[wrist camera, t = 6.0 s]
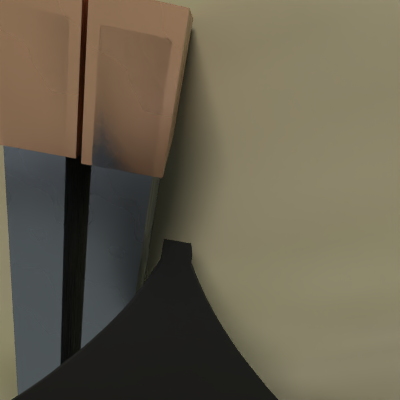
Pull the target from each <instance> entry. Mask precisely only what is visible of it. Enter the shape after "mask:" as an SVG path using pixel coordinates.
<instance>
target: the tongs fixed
mask: <svg viewBox="0 0 400 400" xmlns="http://www.w3.org/2000/svg"><path fill="white" fill-rule="evenodd" d="M87 20H88V0H0V145H4V162H5V179H6V197H7V214H8V231H9V249H10V266H11V283H12V300H13V318H14V335H15V352H16V369H17V387H18V395H19V394H21V393H22V392H24V391H25V390H27V389H28V388H30V387H31V386H33V385H34V384H36V383H37V382H39V381H40V380H41V379H43V378H44V377H45V376H47V375H48V374H50V373H51V372H52V371H53V370H55V369H56V368H57V367H58V366H60V365H61V364H62V363H64V362H65V361H66V360H67V359H69V358H70V357H71V356H73V355H74V354H75V353H76V352H78V351H79V350H80V349H81V336H82V319H83V302H84V285H85V268H86V251H87V234H88V216H89V199H90V182H91V165H86V164H81V155H82V133H83V110H84V88H85V65H86V43H87Z"/></svg>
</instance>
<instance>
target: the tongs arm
mask: <svg viewBox="0 0 400 400" xmlns="http://www.w3.org/2000/svg"><path fill="white" fill-rule="evenodd" d="M192 22H193V17H192V14H191V11H190V8H186V7H182V6H177V5H173V4H168V3H164V2H160V1H155V0H88V20H87V43H86V65H85V88H84V110H83V133H82V155H81V164H86V165H91V182H90V199H89V216H88V234H87V251H86V268H85V285H84V302H83V319H82V336H81V348H83V347H84V346H85V345H86V344H87V343H88V342H89V341H91V340H92V339H93V338H94V337H95V336H96V335H97V334H98V333H99V332H100V331H101V330H103V329H104V328H105V327H106V326H107V325H108V324H109V323H110V322H111V321H112V320H113V319H114V318H115V317H116V316H117V315H118V314H119V313H120V312H121V311H122V310H123V308H124V307H125V306H126V305H127V304H128V303H129V302H130V301H131V299H132V298H133V297H134V296H135V294H136V293H137V292H138V291H139V289H140V288H141V287H142V286H143V284H144V278H145V272H146V266H147V259H148V253H149V246H150V240H151V234H152V227H153V221H154V214H155V208H156V201H157V195H158V189H159V182H160V178H163V174H164V170H165V166H166V163H167V159H168V155H169V151H170V147H171V143H172V139H173V135H174V131H175V125H176V119H177V113H178V106H179V100H180V94H181V88H182V82H183V76H184V70H185V64H186V58H187V52H188V46H189V40H190V34H191V28H192Z"/></svg>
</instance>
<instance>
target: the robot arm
mask: <svg viewBox="0 0 400 400" xmlns="http://www.w3.org/2000/svg"><path fill="white" fill-rule="evenodd" d="M191 260H192V247H191V243H185V242H179V241H173V240H167V239H164V243H163V248H162V254H161V259H160V261H159V262H158V264H157V266H156V267H155V269H154V270H153V272H152V273H151V275H150V276H149V278H148V279H147V281H146V282H145V283H144V284H143V286H142V287H141V288H140V289H139V291H138V292H137V293H136V294H135V296H134V297H133V298H132V299H131V301H130V302H129V303H128V304H127V305H126V306H125V307H124V308H123V310H122V311H121V312H120V313H119V314H118V315H117V316H116V317H115V318H114V319H113V320H112V321H111V322H110V323H109V324H108V325H107V326H106V327H105V328H104V329H103V330H101V331H100V332H99V333H98V334H97V335H96V336H95V337H94V338H93V339H92V340H91V341H89V342H88V343H87V344H86V345H85V346H84V347H83V348H81V349H80V350H79V351H78V352H76V353H75V354H74V355H73V356H71V357H70V358H69V359H67V360H66V361H65V362H64V363H62V364H61V365H60V366H58V367H57V368H56V369H55V370H53V371H52V372H51V373H50V374H48V375H47V376H45V377H44V378H43V379H41V380H40V381H39V382H37V383H36V384H34V385H33V386H31V387H30V388H28V389H27V390H25V391H24V392H22V393H21V394H19V395H18V396H16V397H15V398H13V399H12V400H278V399H277V398H276V397H275V396H274V394H273V393H272V392H271V391H270V390H269V389H268V388H267V387H266V385H265V384H264V383H263V382H262V380H261V379H260V378H259V377H258V375H257V374H256V373H255V372H254V371H253V369H252V368H251V367H250V366H249V364H248V363H247V362H246V361H245V359H244V358H243V357H242V355H241V354H240V352H239V351H238V350H237V348H236V347H235V345H234V344H233V342H232V341H231V339H230V338H229V336H228V335H227V333H226V332H225V330H224V329H223V327H222V325H221V324H220V322H219V320H218V319H217V317H216V315H215V313H214V312H213V310H212V308H211V306H210V304H209V302H208V300H207V298H206V296H205V294H204V292H203V290H202V288H201V285H200V283H199V281H198V279H197V276H196V274H195V271H194V269H193V266H192V263H191Z"/></svg>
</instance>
